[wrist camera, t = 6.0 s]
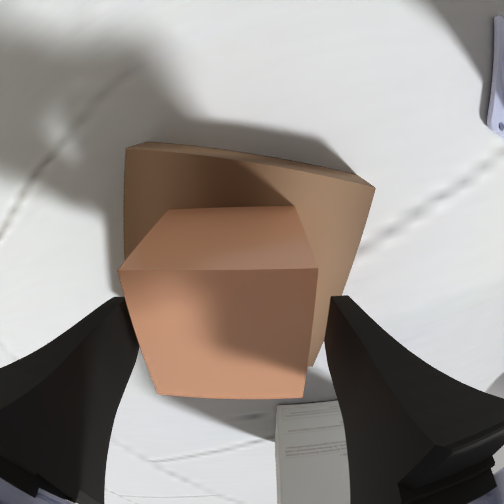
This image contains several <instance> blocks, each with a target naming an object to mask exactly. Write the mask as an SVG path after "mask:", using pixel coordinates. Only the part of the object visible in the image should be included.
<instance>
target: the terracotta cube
mask: <svg viewBox="0 0 504 504" xmlns="http://www.w3.org/2000/svg"><path fill="white" fill-rule="evenodd" d="M117 271H118V274H119V278H120V282H121V286H122V290H123V293H124V297H125V300H126V304H127V307H128V311H129V314H130V317H131V320H132V324H133V327H134V330H135V333H136V336H137V339H138V342H139V345H140V348H141V351H142V354H143V356H144V359H145V362H146V365H147V367H148V370H149V373H150V375H151V378H152V381H153V383H154V386H155V388H156V391H157V393H158V394H162V395H172V396H183V397H197V398H216V399H285V398H303V392H304V386H305V379H306V372H307V365H308V358H309V351H310V343H311V335H312V327H313V318H314V309H315V300H316V290H317V279H318V266H317V263H316V260H315V257H314V255H313V252H312V249H311V247H310V244H309V241H308V239H307V236H306V234H305V231H304V228H303V226H302V223H301V221H300V218H299V215H298V213H297V210H296V208H295V206H261V207H221V208H195V209H173V210H168V211H167V212H166V213H165V214H164V215H163V216H162V217H161V219H160V220H159V221H158V222H157V223H156V224H155V226H154V227H153V228H152V229H151V230H150V231H149V232H148V234H147V235H146V236H145V237H144V238H143V240H142V241H141V242H140V243H139V244H138V246H137V247H136V248H135V249H134V250H133V252H132V253H131V254H130V255H129V256H128V258H127V259H126V260H125V261H124V263H123V264H122V265H121V266H120V268H119V269H118V270H117Z"/></svg>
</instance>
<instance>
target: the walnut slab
mask: <svg viewBox="0 0 504 504" xmlns="http://www.w3.org/2000/svg"><path fill="white" fill-rule="evenodd" d="M375 189H376V188H375V187H374V186H372V185H371V184H369V183H368V182H367V181H365V180H364V179H362V178H361V177H359V176H358V175H355V174H351V173H347V172H342V171H338V170H334V169H329V168H325V167H320V166H315V165H311V164H306V163H301V162H296V161H290V160H285V159H280V158H274V157H268V156H262V155H256V154H250V153H243V152H237V151H230V150H222V149H215V148H207V147H198V146H189V145H179V144H169V143H157V142H144V143H141V144H138V145H135V146H132V147H129V148H126V154H125V173H124V255H125V260H126V259H127V258H128V256H129V255H130V254H131V253H132V252H133V250H134V249H135V248H136V247H137V246H138V244H139V243H140V242H141V241H142V240H143V238H144V237H145V236H146V235H147V234H148V232H149V231H150V230H151V229H152V228H153V227H154V226H155V224H156V223H157V222H158V221H159V220H160V219H161V217H162V216H163V215H164V214H165V213H166V212H167V211H168V210H173V209H195V208H221V207H261V206H295V208H296V210H297V213H298V215H299V218H300V221H301V223H302V226H303V228H304V231H305V234H306V236H307V239H308V241H309V244H310V247H311V249H312V252H313V255H314V257H315V260H316V263H317V266H318V279H317V290H316V300H315V309H314V318H313V327H312V335H311V343H310V351H309V358H308V365H307V366H312V367H313V365H314V362H315V360H316V358H317V355H318V353H319V351H320V348H321V346H322V344H323V341H324V338H325V332H326V326H327V319H328V312H329V305H330V298H331V296H341V295H342V293H343V290H344V287H345V284H346V282H347V279H348V276H349V273H350V270H351V267H352V264H353V261H354V258H355V255H356V252H357V249H358V246H359V243H360V240H361V237H362V234H363V230H364V227H365V224H366V221H367V217H368V214H369V210H370V207H371V203H372V200H373V196H374V193H375Z"/></svg>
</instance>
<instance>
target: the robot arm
mask: <svg viewBox="0 0 504 504" xmlns="http://www.w3.org/2000/svg"><path fill="white" fill-rule="evenodd" d="M487 124H488V127H489V129H490V130H491V131H493V132H495V133H496V134H498V135H499V136H501V137H502V138H504V18H503V17H502V16H499V15H498V16H495V17H494V63H493V77H492V87H491V96H490V103H489V110H488V117H487ZM499 124H500V128H499ZM324 342H325V349H326V356H327V362H328V367H329V371H330V374H331V378H332V381H333V385H334V389H335V392H336V396H337V399H338V403H339V407H340V410H341V414H342V419H343V423H344V430H345V437H346V445H347V454H348V465H349V479H350V504H504V468H502V469H500V470H499V471H497V472H496V473H495V474H492V471H491V467H493V466H494V465H495V461H494V459H493V456H492V455H493V454H495V453H496V452H497V451H498V450H499V449H500V448H501V447H502V446H503V445H504V399H503V398H500V397H497V396H494V395H491V394H488V393H485V392H482V391H479V390H477V389H475V388H472V387H470V386H468V385H466V384H463V383H461V382H459V381H457V380H455V379H453V378H451V377H449V376H448V375H446V374H444V373H442V372H441V371H439V370H437V369H435V368H434V367H432V366H431V365H429V364H427V363H426V362H424V361H423V360H422V359H420V358H419V357H417V356H416V355H414V354H413V353H411V352H410V351H409V350H407V349H406V348H405V347H404V346H402V345H401V344H400V343H399V342H397V341H396V340H395V339H394V338H393V337H391V336H390V335H389V334H388V333H387V332H386V331H385V330H383V329H382V328H381V327H380V326H379V325H378V324H377V323H376V322H375V321H374V320H373V319H372V318H371V317H369V316H368V315H367V314H366V313H365V312H364V311H363V310H362V309H361V308H360V307H359V306H358V305H357V304H356V303H355V302H354V301H353V300H352V299H351V298H350V297H349V296H348V295H346V296H331V298H330V305H329V312H328V319H327V326H326V332H325V338H324ZM139 347H140V345H139V342H138V339H137V336H136V333H135V330H134V327H133V324H132V320H131V317H130V314H129V311H128V307H127V304H126V300H125V297H113V298H111V299H110V300H108V301H107V302H105V303H104V304H102V305H101V306H100V307H98V308H97V309H95V310H94V311H93V312H91V313H90V314H89V315H87V316H86V317H85V318H83V319H82V320H81V321H79V322H78V323H77V324H75V325H74V326H73V327H71V328H70V329H68V330H67V331H66V332H64V333H63V334H61V335H60V336H59V337H57V338H56V339H54V340H53V341H51V342H50V343H48V344H47V345H45V346H43V347H42V348H40V349H38V350H37V351H35V352H33V353H31V354H29V355H28V356H26V357H24V358H21V359H19V360H17V361H15V362H13V363H11V364H9V365H7V366H4V367H2V368H0V504H74V503H78V504H104V486H105V471H106V461H107V454H108V448H109V442H110V436H111V432H112V427H113V423H114V418H115V415H116V412H117V409H118V406H119V403H120V401H121V398H122V396H123V393H124V390H125V388H126V385H127V383H128V380H129V378H130V375H131V373H132V370H133V368H134V365H135V362H136V359H137V355H138V351H139ZM65 499H66V500H65ZM67 500H69V501H71V502H74V503H71V502H69V501H67Z"/></svg>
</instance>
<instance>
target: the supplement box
mask: <svg viewBox="0 0 504 504" xmlns="http://www.w3.org/2000/svg"><path fill="white" fill-rule="evenodd" d="M275 458H276V477H277V504H350V479H349V465H348V454H347V445H346V437H345V430H344V423H343V419H342V414H341V410H340V407H339V403H338V400H336V401H328V402H319V403H307V404H293V405H278V406H277V411H276V428H275Z"/></svg>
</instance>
